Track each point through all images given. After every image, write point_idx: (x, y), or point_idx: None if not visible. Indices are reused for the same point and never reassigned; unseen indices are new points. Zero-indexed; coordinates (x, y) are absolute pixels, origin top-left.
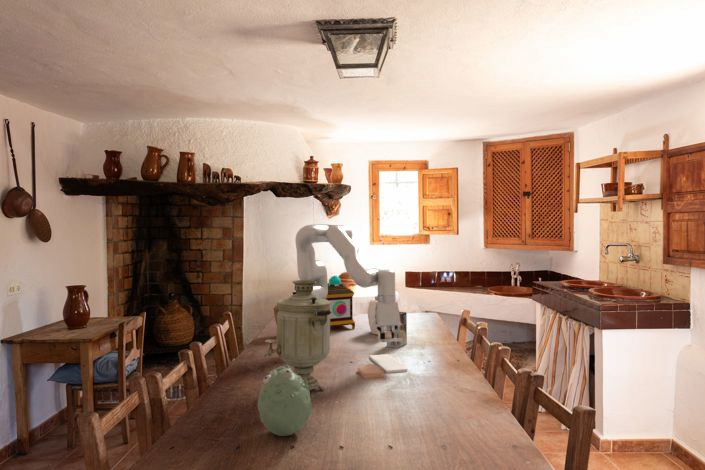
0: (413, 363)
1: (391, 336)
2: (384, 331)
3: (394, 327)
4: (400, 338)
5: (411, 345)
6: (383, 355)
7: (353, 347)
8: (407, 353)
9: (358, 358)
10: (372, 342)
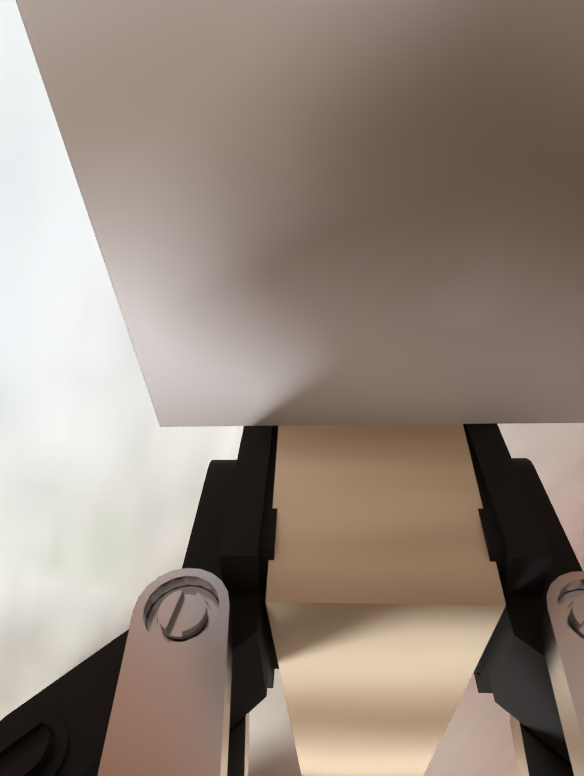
0: (21, 203)
1: (279, 467)
2: (337, 740)
3: (112, 728)
4: (35, 18)
5: (5, 679)
6: None
7: (451, 726)
8: (56, 533)
9: (563, 508)
10: (275, 770)
